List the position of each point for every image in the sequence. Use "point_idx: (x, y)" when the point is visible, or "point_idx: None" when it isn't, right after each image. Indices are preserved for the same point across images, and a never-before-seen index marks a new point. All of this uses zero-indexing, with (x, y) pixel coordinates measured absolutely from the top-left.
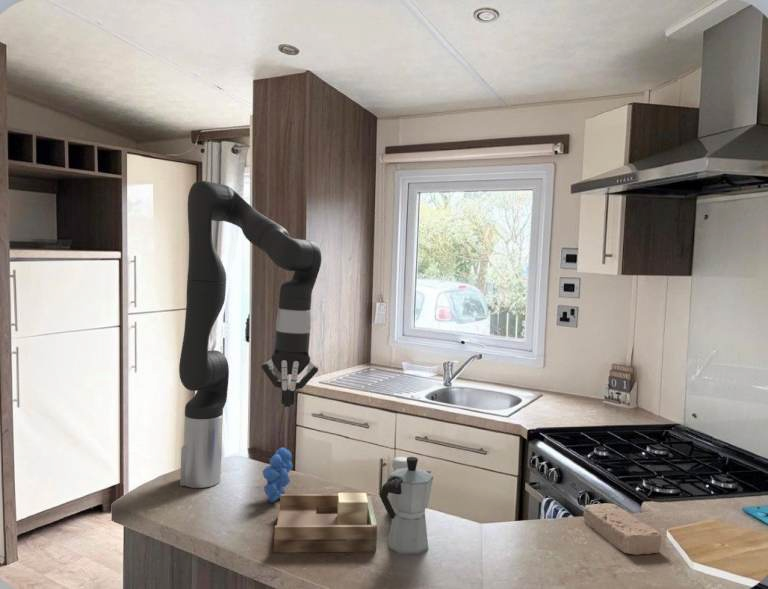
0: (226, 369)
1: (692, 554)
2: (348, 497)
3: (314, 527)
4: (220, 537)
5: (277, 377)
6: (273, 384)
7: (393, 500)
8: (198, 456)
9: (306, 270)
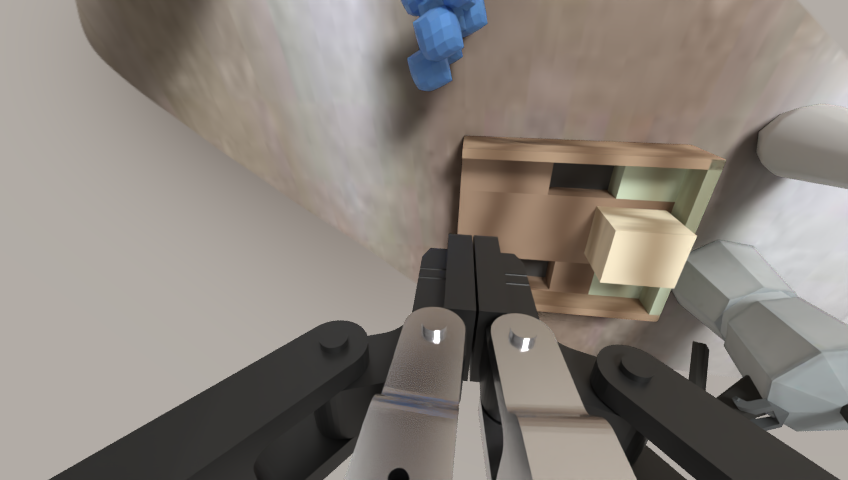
0: None
1: None
2: (634, 259)
3: None
4: (356, 220)
5: (307, 406)
6: (313, 418)
7: (734, 335)
8: None
9: None
